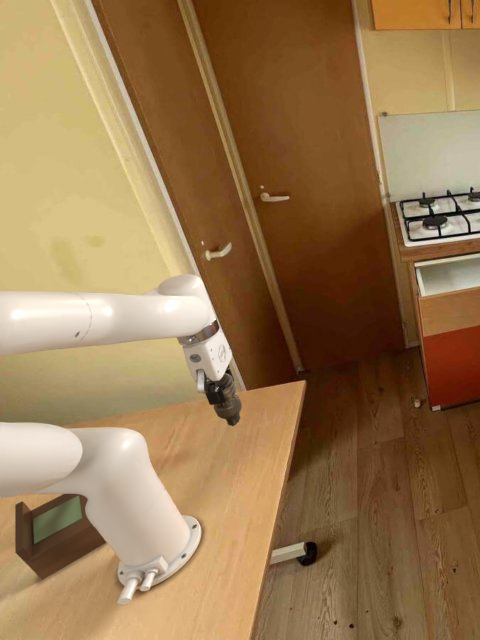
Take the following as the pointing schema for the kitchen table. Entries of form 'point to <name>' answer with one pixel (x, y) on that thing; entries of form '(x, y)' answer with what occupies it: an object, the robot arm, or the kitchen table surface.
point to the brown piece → (54, 534)
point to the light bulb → (228, 401)
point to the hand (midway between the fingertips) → (222, 392)
